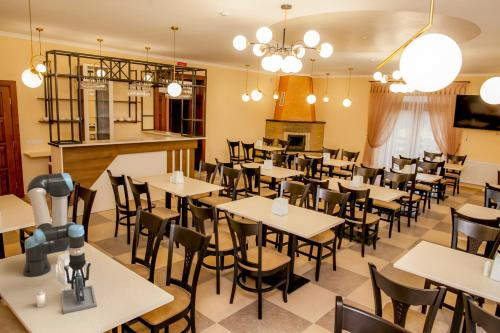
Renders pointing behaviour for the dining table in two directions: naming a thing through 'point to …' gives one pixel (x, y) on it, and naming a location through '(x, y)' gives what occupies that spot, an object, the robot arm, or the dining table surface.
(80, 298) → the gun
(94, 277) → the dining table surface
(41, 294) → the shaker
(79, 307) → the tray
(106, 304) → the dining table surface
